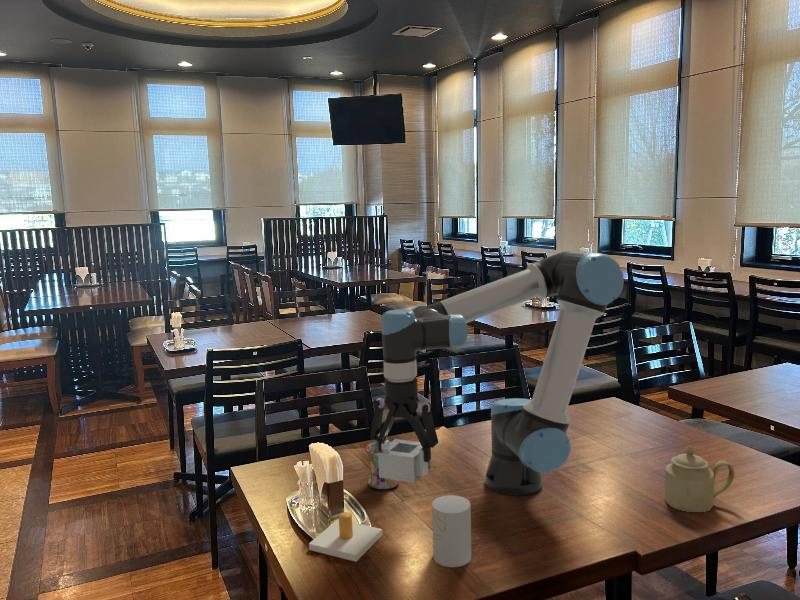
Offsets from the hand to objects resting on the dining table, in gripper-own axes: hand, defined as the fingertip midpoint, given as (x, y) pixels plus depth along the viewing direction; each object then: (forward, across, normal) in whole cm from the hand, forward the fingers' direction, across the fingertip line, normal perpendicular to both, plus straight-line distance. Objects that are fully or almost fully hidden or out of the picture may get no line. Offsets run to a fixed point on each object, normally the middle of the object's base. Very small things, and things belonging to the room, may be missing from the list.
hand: (405, 471), depth 148 cm
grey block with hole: (0, 0, 0) cm, 0 cm away
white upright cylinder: (+14, -14, +8) cm, 22 cm away
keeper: (+13, +10, +12) cm, 20 cm away
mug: (+14, +16, -19) cm, 28 cm away
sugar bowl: (+15, -60, -39) cm, 73 cm away
